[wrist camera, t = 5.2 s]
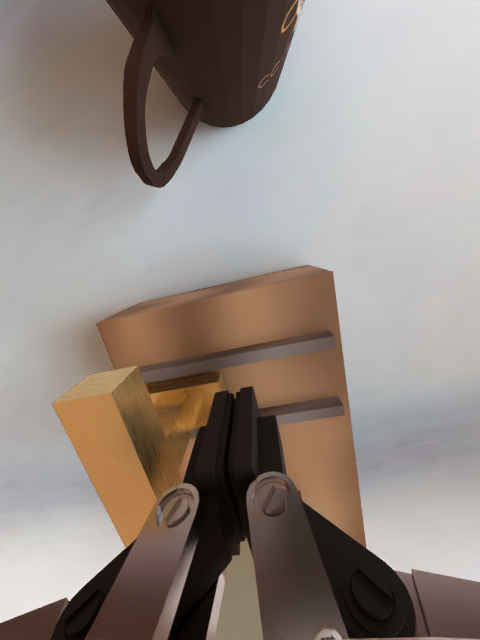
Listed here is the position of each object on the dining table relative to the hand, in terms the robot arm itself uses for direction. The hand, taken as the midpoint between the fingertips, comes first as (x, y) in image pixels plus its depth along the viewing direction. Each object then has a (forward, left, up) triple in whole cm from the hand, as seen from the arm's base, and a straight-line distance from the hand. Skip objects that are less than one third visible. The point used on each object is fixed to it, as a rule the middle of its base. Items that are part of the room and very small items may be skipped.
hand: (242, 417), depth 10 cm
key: (+3, 0, -3) cm, 4 cm away
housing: (+1, +6, -8) cm, 10 cm away
